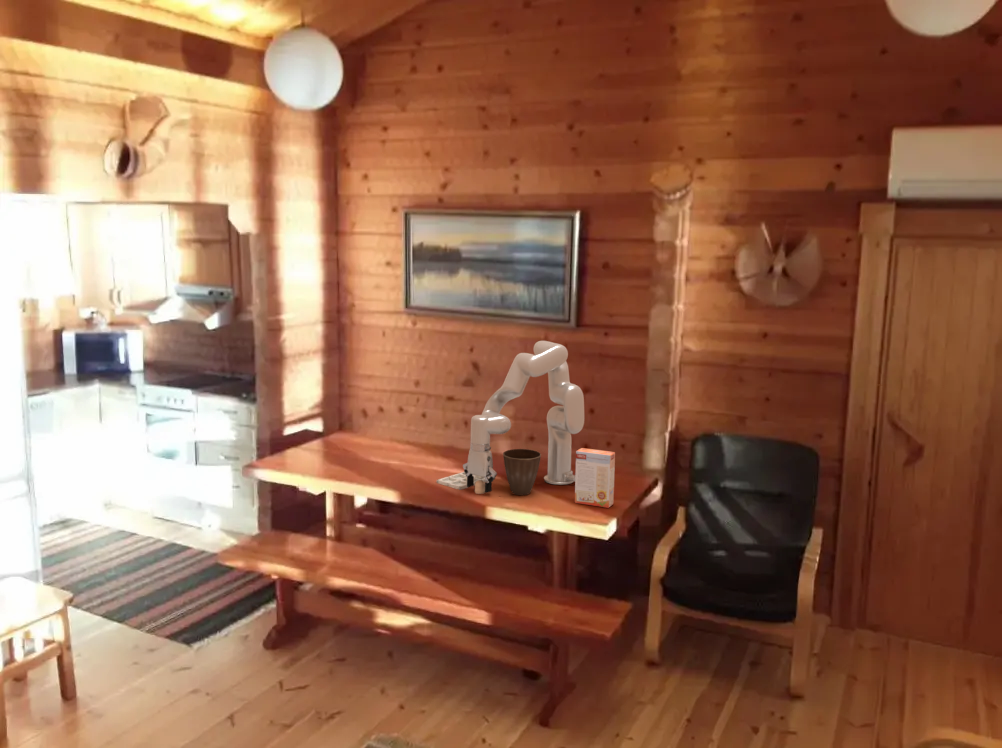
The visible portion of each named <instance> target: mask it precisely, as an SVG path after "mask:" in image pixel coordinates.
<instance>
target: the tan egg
mask: <svg viewBox="0 0 1002 748" xmlns="http://www.w3.org/2000/svg"><path fill="white" fill-rule="evenodd" d="M485 483H486V482H484V481H482V480H478V481H476V483H475V485H474V493H475V494H476V495H484V494H485V493H486V492H485Z"/></svg>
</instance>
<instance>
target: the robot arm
mask: <svg viewBox="0 0 1002 748" xmlns="http://www.w3.org/2000/svg"><path fill="white" fill-rule="evenodd" d="M568 356H569V351H568V349H567V347H566V346H564V345H563V344H560V343H556V342H552V341H549V340H548V341H547V340H539V341H537V342H535V344H534V345H533V353H528V352H520V353H518V354H516V356H515V357H514V359H513V362H512V363H511V365H510V367H509V370H508V372H507V375H506V377H505V379H504V380H503V381H504V382H503V383H502V385H501V387H500V388H498V389H497V390H496V391H495V392H494V393H493V394H492V395H491V396H490V397H489V399H487V401H486V403H485V406H484V408H483V410H482V412H481V414H476V415H472V417H471V419H470V447H469V450H468V456H467V462H466V463H464V464H462V468H463V472H465V474H466V477H467V487H468V488H471V487H473V485H474V476H472V475H477V476H480V477H484V478H485V480H486V482H484V483H485V493H487V494H488V493H490V492H492V490H493V489H492V487H493V486H492V484H493V482H494V481H495V479H496V476H497V475H498V472H497V471H495V470H494V464H493V463H494V461H493V454H492V451H491V449H492V447H491V446H490V445H491V444H490V443H491V435H503V434H506V433H508V432H509V431H510V430H511V428H512V422H511V420H510V418H509V417H507V416H506V415H503V414H502V413H501V411H502V409H503V408H504V406H505V405H506V404H507V403H508V402H509V401H511V400H514V399H516V398H519V397H521V396H522V395H523V393H524V390H525V388H526V386H527V384H528V382H529V379H530V377H532V378H538V377H541V376H543V375H546V374H547V378H548V380H547V381H548V396H549V399H550V401H551V402H553V403H554V404H557V405H555V406H552V407H551V408H550V409H549V410H548V412H547V415H546V424H547V429H548V430H547V431H548V444H547V445H548V446H547V447H548V450H547V474H546V475H544V477H543V479H544V482H545V483H547V484H551V485H556V486H557V485H560V486H562V485H570V484H572V483H574V482H575V474H574V471H573V470H572V435H576V434H578V433H580V432H581V431H582V430H583V428H584V425H585V399H584V398H585V397H584V396H585V395H584V393H583V390H582V389H581V387H580V386H579V385H576V384H575V383H571V382H570V380H571V379H570V372H569V364H568V362H567V359H568ZM488 478H489V479H488ZM474 486H475V485H474Z"/></svg>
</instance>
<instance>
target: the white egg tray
mask: <svg viewBox="0 0 1002 748" xmlns="http://www.w3.org/2000/svg"><path fill="white" fill-rule="evenodd" d="M488 479H489V478H488ZM478 480H482V481H484V483H486V480H485V478H483V479H478V478H476V475H475V481H474V485H473V486H474V487H475V483H476V481H478ZM436 484H439V485H443V486H445V487H449V488H453V489H455V490H459V491H460V490H464V489H468V488H469V487H467V481H465V472H464V471H462V472H459V473H456V474H451V475H449V476H445V477H442V478H439V479H436ZM473 486H472V487H473Z"/></svg>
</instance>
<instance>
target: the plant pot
mask: <svg viewBox="0 0 1002 748" xmlns="http://www.w3.org/2000/svg"><path fill="white" fill-rule="evenodd" d="M502 456H503V464H504V469H505V474H506V475H505V476H506V478H507V479H506V480H507V482H508V485H509V488H510V491H511V493H512V494H513V495H516V496H528V495H529V494H530V493H531V491H532V489H533V487H534V484H535V482H536V479H537V475H538V471H539V467H540V462H541V458H542V457H541V456H542V454H541V452H539V451H538V450H534V449H528V448H527V449H526V448H512V449H508V450H506V451H504V452H503V453H502Z"/></svg>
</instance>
